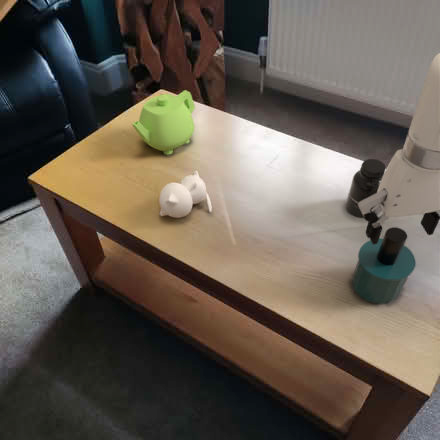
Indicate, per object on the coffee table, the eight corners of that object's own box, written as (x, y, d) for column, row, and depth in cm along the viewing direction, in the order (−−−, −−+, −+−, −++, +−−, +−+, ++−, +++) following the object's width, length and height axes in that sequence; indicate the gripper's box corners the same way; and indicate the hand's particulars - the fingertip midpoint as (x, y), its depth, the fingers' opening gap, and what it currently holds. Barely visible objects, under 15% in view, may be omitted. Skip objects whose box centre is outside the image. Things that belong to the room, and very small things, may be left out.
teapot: (157, 169, 109) (149, 124, 99) (123, 149, 115) (112, 105, 105) (211, 134, 118) (208, 89, 108) (177, 117, 123) (172, 73, 113)
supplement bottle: (342, 215, 96) (353, 171, 87) (348, 196, 100) (359, 152, 91) (373, 223, 95) (388, 178, 85) (378, 203, 98) (393, 158, 89)
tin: (389, 263, 88) (400, 238, 82) (408, 299, 82) (421, 275, 76) (345, 270, 87) (353, 245, 81) (362, 307, 81) (371, 282, 76)
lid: (400, 238, 82) (411, 210, 77) (423, 278, 76) (437, 251, 71) (349, 246, 82) (357, 218, 76) (369, 287, 76) (379, 260, 70)
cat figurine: (197, 159, 95) (157, 185, 90) (227, 197, 96) (189, 225, 91) (185, 178, 103) (147, 203, 98) (212, 213, 104) (177, 239, 98)
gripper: (477, 123, 63) (437, 211, 76) (362, 140, 62) (342, 226, 75) (506, 154, 58) (458, 241, 72) (383, 173, 57) (357, 258, 71)
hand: (398, 233), depth 74 cm, fingers open, 9 cm apart
